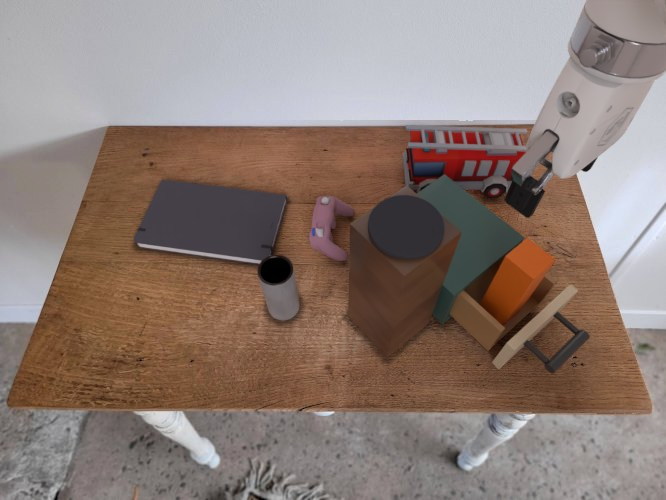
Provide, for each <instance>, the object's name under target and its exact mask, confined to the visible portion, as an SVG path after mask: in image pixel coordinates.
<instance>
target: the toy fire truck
mask: <svg viewBox="0 0 666 500" xmlns="http://www.w3.org/2000/svg"><path fill="white" fill-rule="evenodd" d="M405 131H407V132H409V137H410V138H409V139H410V142H407V148H405V152H402V157H401V158H402V167H403V177H404V187H405V186H408V187H409V188H410V189H411V190H413V191H416V194H417V193H418V192H420V191H421V190H423V189H424V188H425V187H427V186H428V185H430V184H431V183H433V182H434V181H435V180H437V179H438V178H440V177H441V176H443V175H444V174H445V175H446V176H447V177H449V178H450V179H451V180H453V181H454V182H455V183H456V184H458V185H459V186H460V187H461V188H463V189H464V190H465V191H471V190H473V191H475V190H477V191H479V190H480V192H481V193H483V196H484V197H485V198H487V199H490V200H491V199H492V200H496V199H498V198H502V196H503V195H504V194H507V192H508V190H509V187H510V185H511V183H512V180H511V176H512V172H511V169H512V167H513V166H514V165H515V164H516V162H517V161H518V160H519V159H520V158H521V157H522V156H523V155H524V154H525V153H526V145H524V143H523V139H522V136H521V135H528V129H527V128H514V127H513V128H511V127H484V126H483V127H482V126H481V127H479V126H449V125H448V126H446V125H417V124H415V125H414V124H413V125H412V124H410V125H409V124H405Z"/></svg>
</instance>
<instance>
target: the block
mask: <svg viewBox="0 0 666 500" xmlns="http://www.w3.org/2000/svg"><path fill="white" fill-rule="evenodd" d="M556 261H557V258H555V257H553V256H552V255H551V254H549V253H548V252H547V251H545V250H544V249H543V248H542V247H541V246H539V245H538V244H537V243H535V242H534V241H533V240H532V239H531V238H529V237H527V238H524V240H523V242H522V243H521V244H519V245H518V246H517V247H516V248H515V249H513V250H512V251H511V252H510V253H508V254H507V255H506V256H505V258H504V260H503V262H502V263H501V265H500V267H499V269H498V271H497V273H496V275H495V277H494V279H493V280H492V282H491V284H490V286H489V288H488V290H487V292H486V294H485V296H484V297H483V299H482V301H481V303H480V306H482V307H483V308H484V309H485V310H486V311H487V312H488V313H489V314H490V315H491V316H493V317H494V318H495V319H496V320H497V321H498V322H499V323H500V324H501V325H502V326H504V325H505V324H506V323H507V322H508V321H509V320H510V319H511V318H512V317H514V316H515V315H516V314H517V313H518V312H519V311H520V310H521V309H522V307H523V306H524V305H525V303H526V302H527V300H528V299H529V298H530V296H531V295H532V293H533V292H534V290H535V289H536V288H537V286H538V285H539V283H540V282H541V281H542V279H543V278H544V276H545V275H546V273H549V271H550V269H551V268H552V266H553V265H554V264H555V263H556Z"/></svg>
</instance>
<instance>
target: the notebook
mask: <svg viewBox="0 0 666 500" xmlns="http://www.w3.org/2000/svg"><path fill="white" fill-rule="evenodd" d="M287 203H288V196H287V194H283V193H276V192H267V191H260V190H251V189H244V188H243V189H242V188H235V187H229V186H228V187H227V186H219V185H210V184H203V183H195V182H187V181H181V180H180V181H179V180H172V179H163V178H162V179H160V182H159V184H158V186H157V188H156V191H155V192H154V193H153V196H152V199H151V201H150V203H149V205H148V207H147V208H146V212H145V213H144V215H143V217H142V220H141V222H140V224H139V226H138V227H137V230H136V232H135V235H134V237H133V242H134V243H136V246H137V248H140V249H145V250H152V251H158V252H164V253H165V252H166V253H173V254H180V255H188V256H193V257H194V256H195V257H202V258H210V259H215V260H223V261H228V262H229V261H231V262H236V263H246V264H252V265H257V266H259V264H260V262H261V261H262V260H263V259H264V258H266V257H268V256H270V255H273V253H274V249H275V246H276V242H277V238H278V235H279V231H280V228H281V224H282V221H283V217H284V214H285V210H286V207H287Z"/></svg>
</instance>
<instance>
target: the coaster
mask: <svg viewBox="0 0 666 500" xmlns="http://www.w3.org/2000/svg"><path fill="white" fill-rule="evenodd" d="M373 208H374V209H373ZM373 208H372V209H373V210H372V212H371V214H370V216H369V221H368V231H369V235H370V238H371V240H372V241H373V243H374V244H375V245H376V246H377V247H378V248H379V249H380V250H381V251H383V252H384V253H386V254H388V255H390V256H392V257H395V258H399V259H417V258H421V257H424V256H426V255H428V254H430V253H432V252H433V251H434V250H435V249H436V248H437V247H438V246H439V244H440V243H441V241H442V238H443V235H444V221H443V218H442V216H441V214H440V213H439V211H438V210H437V209H436V208H435V207H434V206H433V205H432V204H430V203H429V202H427V201H426V200H423V199H421V198H418V197H415V196H409V195H398V196H393V197H390V196H389V197H387V198H384V199H383V200H381V201H380V202H379V203H377V204H376V205H375V206H374V207H373Z"/></svg>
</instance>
